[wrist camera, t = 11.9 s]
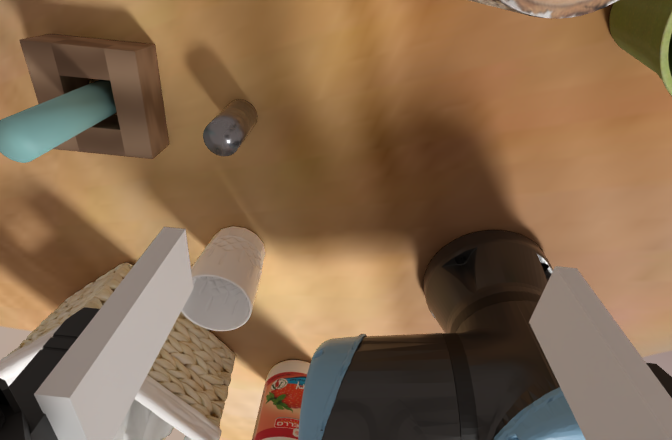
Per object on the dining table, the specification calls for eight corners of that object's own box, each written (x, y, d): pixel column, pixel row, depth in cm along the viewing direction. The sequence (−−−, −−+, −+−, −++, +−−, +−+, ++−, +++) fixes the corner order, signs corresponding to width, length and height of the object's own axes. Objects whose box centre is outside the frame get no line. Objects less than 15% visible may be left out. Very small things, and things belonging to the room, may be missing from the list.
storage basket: (249, 357, 61) (220, 457, 48) (174, 390, 66) (131, 488, 54) (128, 247, 51) (53, 337, 39) (52, 296, 56) (-36, 389, 44)
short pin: (257, 131, 42) (240, 157, 36) (226, 128, 42) (204, 154, 36) (256, 101, 40) (238, 123, 34) (225, 97, 40) (201, 119, 34)
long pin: (134, 109, 42) (42, 164, 30) (103, 106, 42) (-1, 160, 30) (128, 78, 40) (29, 122, 28) (96, 74, 40) (-17, 117, 28)
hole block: (169, 144, 43) (152, 158, 40) (76, 135, 43) (52, 148, 40) (155, 44, 38) (134, 51, 35) (49, 33, 38) (19, 39, 35)
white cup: (200, 222, 48) (166, 275, 40) (264, 220, 48) (243, 273, 39) (215, 273, 53) (187, 331, 44) (274, 272, 52) (257, 331, 43)
